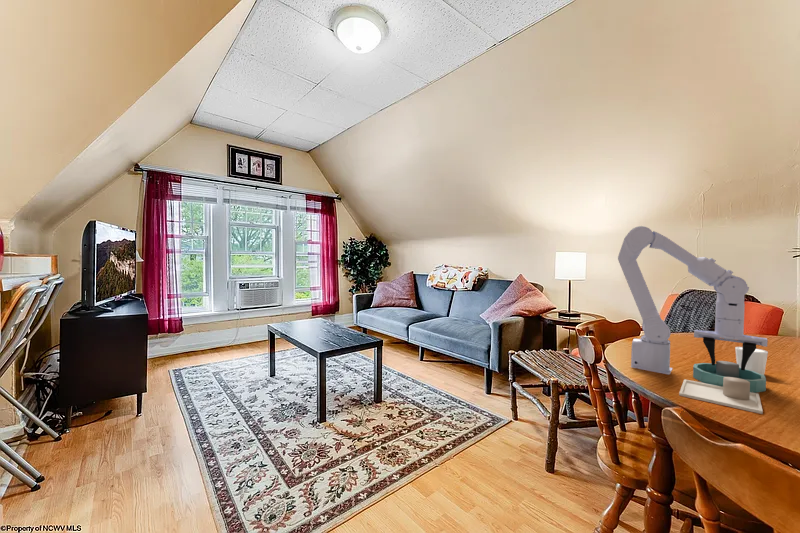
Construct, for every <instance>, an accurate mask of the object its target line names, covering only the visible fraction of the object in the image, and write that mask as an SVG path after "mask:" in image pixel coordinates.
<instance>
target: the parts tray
mask: <svg viewBox="0 0 800 533" xmlns="http://www.w3.org/2000/svg"><path fill="white" fill-rule="evenodd" d="M678 396H680V397H685V398H688V399H689V398H690V399H694V400H696V401H697V400H698V401H700V402H701V401H702V402H707V403H710V404H714V405H715V404H716V405H719V406H724V407H725V406H726V407H728V408H734V409H738V410H743V411H746V412H752V413H755V414H760V415H763V414H764V413H763V412H764V411H763V406H762V402H761V398H760V393H758V392H757V393H753V392H750V398H749V400H738V399H733V398H730V397H727V396H725V395H723V387H721V386H716V385H711V384H706V383H703V382H700V381H696V380H695V381H694V380H689V379H685V378H684V379H683V382H682V385H681V387H680V389H679V392H678Z"/></svg>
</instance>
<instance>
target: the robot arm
mask: <svg viewBox="0 0 800 533" xmlns="http://www.w3.org/2000/svg"><path fill="white" fill-rule="evenodd" d="M648 246H649V247H648ZM647 247H648V249H655V250H661V251H663V252H665V253H666V254H668V255H670V256H671V257H673V258H674V259H676V260H678V261H679V262H681V263H683V264H684V265H686V266H687V271H688V273H689V274H690V275H692V276H694V277H695V278H697V279H698V280H700V281H701V282H703V283H705V284H706V285H708V286H709V287H713V289H714V291H715V292H716V300H715V319H714V321H715V323H714V324H715V325H714V331H713V330H700V329H694V330H693V331H694V332H693V338H697V339H699V338H702V343H703V345H704V346H705V348H706V350H707V352H708V355H709V358H710V362H711V363H712V365H714V366H715V364H716V350H715V348H716V341H724V342H732V343H738V344H739V343H741V344H742V346H741V347H742V361H741V370H744V371H745V367H746V364H747V361H748V360H749V358H750V356H751V355H752V353H753V352H754V351H755V349H756V348H757V346H761V347H768V338H767V337H760V336H759V337H758V336H753V335H747V334H744V331H745V326H744V325H745V306H746V305H745V295H747V293H748V292H749V290H750V287H749V286H748V283H747V282H746V280H745V279H743V278H742V277H739V276H735V275H733V274H734V272H733V271H732V270H731V269H728V270H727V269H726V268H724V267H722V266H720V265H719V264H718V263H716V260H715V259H714V258H713V257H710V258H708V257H706V256H700V257H696V256H695V255H693V254H692V253H691V252H689V250H688V251H687V249H685V248H684V247H682V246H680V245H679V244H677V243H675V241H673V240H671V239H670V238H668V237H667V236H665V235H663V234H661V233H659V232H658V231H655V230H653V231H652V229H650V227H647V226H642V225H641V226H640V225H639V226H636V227H633V228H632V229H631V230H629V232H628V233H627V234H626V235H625V237H624V239H623V241H622V245H621V247H620V250H619V253H618V256H617V260H618V263H619V266H620V268H621V270H622V273H623V276H624V277H625V280H626V283H627V284H628V288H629V290H630V292H631V294H632V297H633V300H634V302H635V304H636V306H637V310H638V312H639V315H640V317H641V319H642V324H641V327H642V331H643V333H644V334H643V335H642V336H640V338H633V340H632V342H631V358H630V360H631V361H630V364H631V365H630V368H633V369H639V370H643V371H644V370H645V371H648V372H654V373H658V374H664V375H671V372H672V371H673V367H670V366H671V365H670V364H671V340H669V339H670V337H671V333H672V332H671V329H670V327H669V326H668V325H667V323H666V322H665V321H664V320H663V319H662V317H661V316H660V313H659V311H658V309H657V307H656V304H655V301H654V299H653V297H652V294H651V292H650V290H649V287H648V285H647V283H646V281H645V278H644V276H643V273H642V271H641V268H640V266H639V264H638V261H637V259H638V258H639V257H640V255H641V253H642V251H643V250H644V249H645V248H647Z"/></svg>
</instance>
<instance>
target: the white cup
mask: <svg viewBox="0 0 800 533" xmlns="http://www.w3.org/2000/svg"><path fill="white" fill-rule="evenodd" d="M742 347H743V346H735V348H734V349H735V360H736V364H739V368H741V361H742ZM768 354H769V351H768V350H765V349H760V348H757V347H756V349H755V351H754V352H753V353H752V355H751V356H750V358H749V360H748V361H747V364H746V367H745V369H747V370H751V371H755V372H757V373H759V374H762V375H764V376H765V372H766V366H767V359H768Z"/></svg>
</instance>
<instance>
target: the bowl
mask: <svg viewBox="0 0 800 533" xmlns="http://www.w3.org/2000/svg"><path fill="white" fill-rule="evenodd" d="M692 366H693V367H692V368H693V369H692V377H693V379H696V380H697V381H698V382H701V383H706V384H711V385H716V386H721V387H723V378H724V377H725V376H719V375H716V363H715V366H714V365H712V363H710V362H699V363H694V364H693V365H692ZM739 378H740V379H744V380H747V381H749V382H750V392H752V393H757V394H758V393H763V392H766V390H767V378H766V375H765V374H764V375H762V374H759V373H757V372H755V371H751V370H747V369H745V371H744V370H741V368H739Z"/></svg>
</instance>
